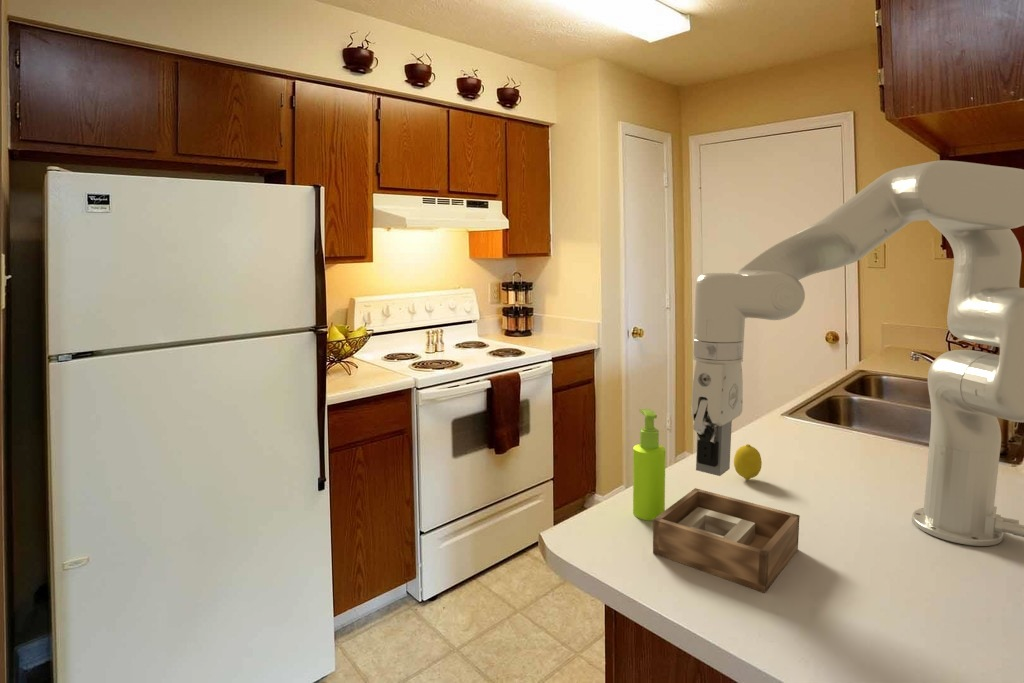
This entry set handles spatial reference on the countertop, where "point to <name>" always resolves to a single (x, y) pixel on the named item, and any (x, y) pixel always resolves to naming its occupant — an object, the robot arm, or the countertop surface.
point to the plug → (719, 451)
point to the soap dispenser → (648, 471)
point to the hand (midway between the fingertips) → (713, 459)
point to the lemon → (747, 462)
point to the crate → (727, 537)
